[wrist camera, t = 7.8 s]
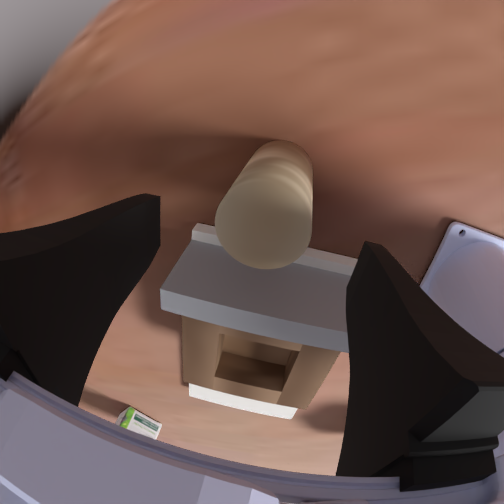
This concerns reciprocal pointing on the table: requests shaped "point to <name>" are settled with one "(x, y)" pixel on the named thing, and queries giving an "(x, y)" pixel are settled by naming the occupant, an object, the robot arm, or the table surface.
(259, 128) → the table surface
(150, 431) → the syrup box
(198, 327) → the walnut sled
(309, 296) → the backstop board
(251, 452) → the table surface
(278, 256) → the birch dowel
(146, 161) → the table surface
